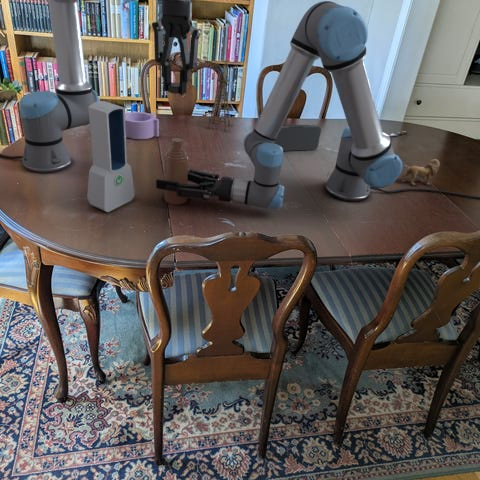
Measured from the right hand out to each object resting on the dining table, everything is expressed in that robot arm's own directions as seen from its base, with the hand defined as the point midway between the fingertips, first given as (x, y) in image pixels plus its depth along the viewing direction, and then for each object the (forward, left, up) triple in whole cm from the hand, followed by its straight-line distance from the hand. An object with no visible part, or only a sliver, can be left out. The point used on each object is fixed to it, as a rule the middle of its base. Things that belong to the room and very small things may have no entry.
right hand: (160, 178), depth 144 cm
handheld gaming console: (-57, -36, -6) cm, 68 cm away
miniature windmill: (-33, -63, -6) cm, 71 cm away
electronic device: (+15, +3, -6) cm, 17 cm away
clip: (+5, -54, -6) cm, 55 cm away
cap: (-4, +1, +29) cm, 29 cm away
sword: (-109, -47, -6) cm, 119 cm away
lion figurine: (-96, -3, -6) cm, 96 cm away
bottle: (-4, +2, -6) cm, 8 cm away
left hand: (-4, +1, +27) cm, 27 cm away
